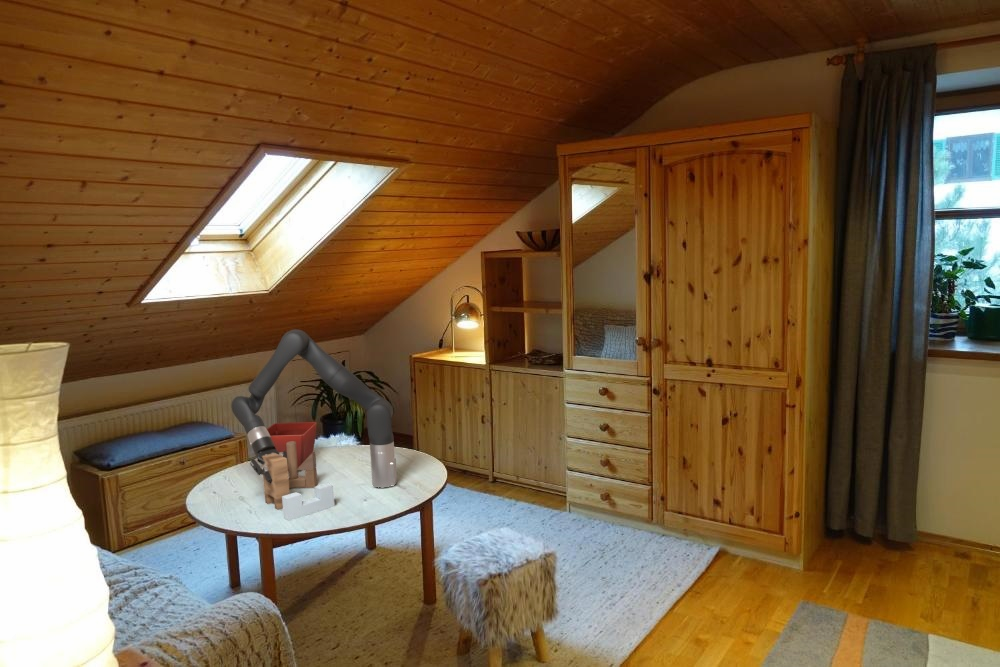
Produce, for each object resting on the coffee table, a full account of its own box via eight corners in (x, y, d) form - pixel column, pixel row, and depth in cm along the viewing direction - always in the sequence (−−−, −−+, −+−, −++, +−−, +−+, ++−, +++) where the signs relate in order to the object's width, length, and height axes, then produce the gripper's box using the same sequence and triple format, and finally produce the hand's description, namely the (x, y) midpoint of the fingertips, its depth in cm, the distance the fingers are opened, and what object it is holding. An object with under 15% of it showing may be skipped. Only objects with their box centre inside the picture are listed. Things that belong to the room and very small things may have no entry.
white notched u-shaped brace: (329, 503, 262) (328, 482, 261) (334, 506, 259) (333, 485, 258) (283, 518, 250) (282, 496, 248) (288, 521, 247) (286, 498, 246)
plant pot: (260, 475, 295) (257, 435, 293) (277, 460, 314) (274, 422, 312) (306, 474, 294) (303, 434, 292) (320, 459, 313) (317, 422, 311)
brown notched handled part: (315, 488, 278) (311, 443, 276) (287, 488, 279) (284, 443, 276) (317, 484, 282) (314, 440, 279) (291, 485, 282) (287, 441, 280)
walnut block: (265, 502, 265) (261, 455, 262) (278, 499, 268) (274, 452, 265) (277, 509, 257) (273, 461, 255) (290, 505, 261) (286, 458, 258)
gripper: (244, 440, 260) (262, 479, 253) (281, 431, 269) (299, 469, 262) (239, 451, 264) (256, 490, 257) (276, 442, 274) (293, 480, 267)
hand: (278, 479), depth 260 cm, fingers closed on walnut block, 5 cm apart
